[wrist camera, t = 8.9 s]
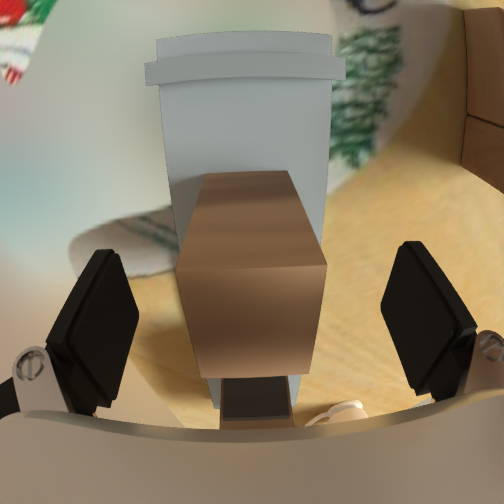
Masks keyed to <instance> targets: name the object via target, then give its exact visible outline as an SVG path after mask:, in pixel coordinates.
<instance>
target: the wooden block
mask: <svg viewBox="0 0 504 504" xmlns="http://www.w3.org/2000/svg"><path fill="white" fill-rule="evenodd" d="M464 21H465V31H466V44H467V73H468V83H467V113H468V114H470V115H471V116H467V117H466V121H465V133H464V143H463V152H462V160H461V164H462V167H463V168H465V169H466V170H468V171H470V172H471V173H473V174H475V175H476V176H478V177H479V178H481V179H482V180H484V181H485V182H487V183H488V184H490V185H491V186H493V187H494V188H496V189H497V190H499V191H500V192H502V193H503V194H504V9H502V8H500V7H494V8H479V9H468V10H464Z"/></svg>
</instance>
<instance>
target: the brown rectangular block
mask: <svg viewBox="0 0 504 504" xmlns="http://www.w3.org/2000/svg"><path fill="white" fill-rule="evenodd" d="M326 272H327V263H326V260H325V258H324V255H323V253H322V250H321V248H320V245H319V243H318V240H317V238H316V235H315V233H314V230H313V228H312V226H311V223H310V221H309V218H308V216H307V214H306V211H305V209H304V207H303V204H302V202H301V200H300V197H299V195H298V193H297V191H296V188H295V186H294V184H293V182H292V179H291V177H290V175H289V173H288V171H287V170H282V171H245V172H223V173H206V175H205V178H204V181H203V184H202V187H201V189H200V192H199V195H198V198H197V201H196V204H195V207H194V210H193V214H192V217H191V220H190V223H189V226H188V229H187V232H186V235H185V239H184V242H183V245H182V249H181V252H180V255H179V259H178V262H177V265H176V269H175V274H176V279H177V283H178V288H179V292H180V297H181V301H182V305H183V310H184V314H185V318H186V322H187V326H188V330H189V334H190V338H191V342H192V346H193V350H194V353H195V357H196V361H197V364H198V368H199V372H200V375H201V378H251V377H272V376H287V375H300V374H309V370H310V365H311V360H312V355H313V350H314V345H315V339H316V334H317V328H318V323H319V317H320V311H321V305H322V298H323V292H324V285H325V279H326Z"/></svg>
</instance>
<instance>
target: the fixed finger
mask: <svg viewBox="0 0 504 504" xmlns="http://www.w3.org/2000/svg"><path fill="white" fill-rule="evenodd" d="M291 427H294V421H293V413H292V405H291V397H290V389H289V381H288V375H287V376H272V377H251V378H221V399H220V429H219V430H250V429H276V428H291Z"/></svg>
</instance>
